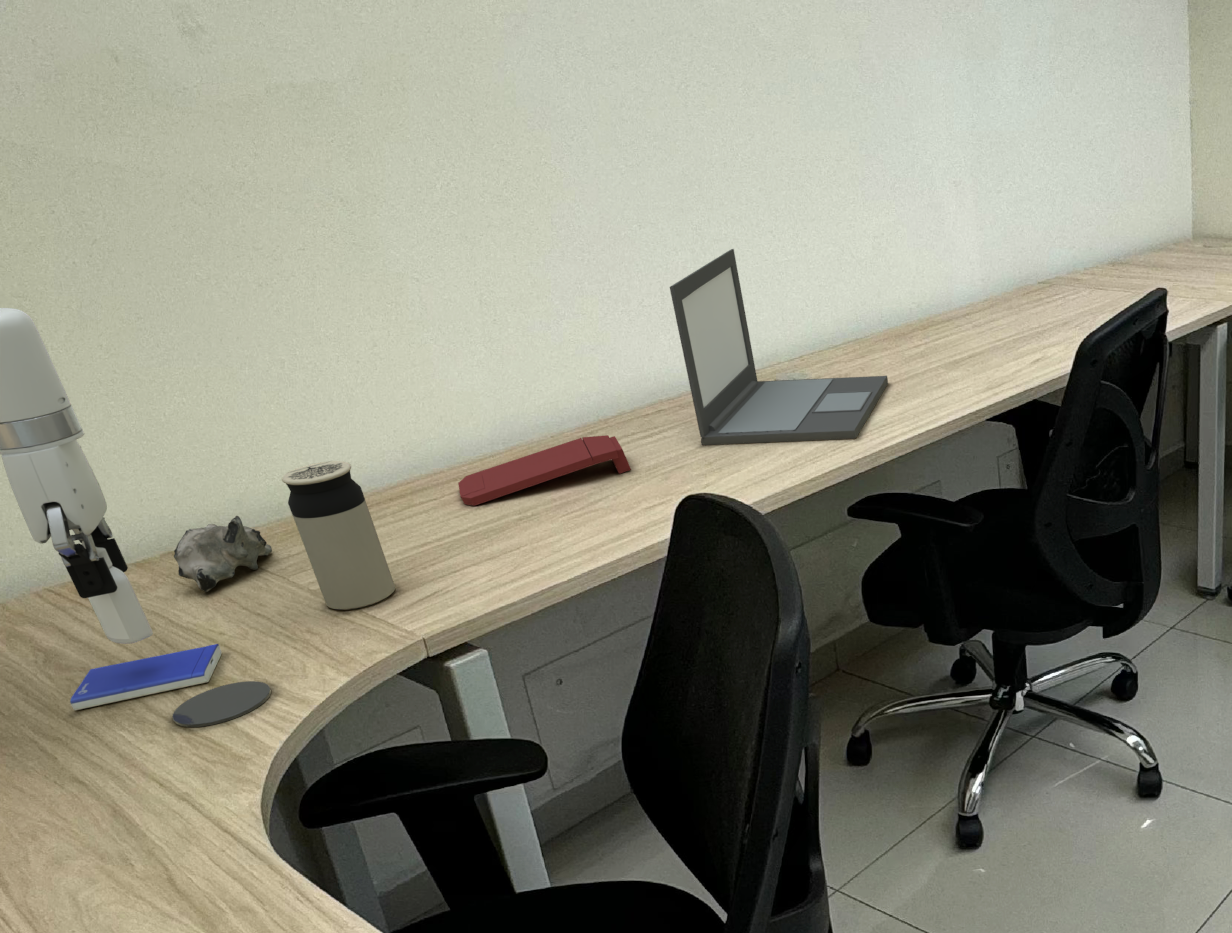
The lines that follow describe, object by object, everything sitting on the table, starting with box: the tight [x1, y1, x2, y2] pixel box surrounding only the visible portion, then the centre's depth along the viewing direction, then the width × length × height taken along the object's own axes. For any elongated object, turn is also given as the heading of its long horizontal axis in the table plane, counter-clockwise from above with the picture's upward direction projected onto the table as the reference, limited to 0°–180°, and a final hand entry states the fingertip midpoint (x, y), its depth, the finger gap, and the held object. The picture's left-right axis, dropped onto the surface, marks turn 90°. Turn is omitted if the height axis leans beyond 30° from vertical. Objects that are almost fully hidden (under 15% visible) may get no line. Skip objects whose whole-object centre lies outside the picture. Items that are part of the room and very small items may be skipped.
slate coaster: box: [172, 680, 272, 728], centre depth 128 cm, size 9×9×1 cm
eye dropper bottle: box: [81, 541, 154, 645], centre depth 128 cm, size 4×6×12 cm
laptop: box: [669, 248, 889, 446], centre depth 213 cm, size 35×28×28 cm
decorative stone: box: [173, 515, 273, 593], centre depth 159 cm, size 16×9×10 cm, turn 23°
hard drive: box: [69, 643, 223, 711], centre depth 133 cm, size 2×8×12 cm
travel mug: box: [281, 460, 396, 611], centre depth 148 cm, size 8×8×18 cm
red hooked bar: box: [457, 434, 632, 506], centre depth 190 cm, size 12×5×25 cm
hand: (104, 582), depth 128 cm, fingers closed on eye dropper bottle, 5 cm apart
